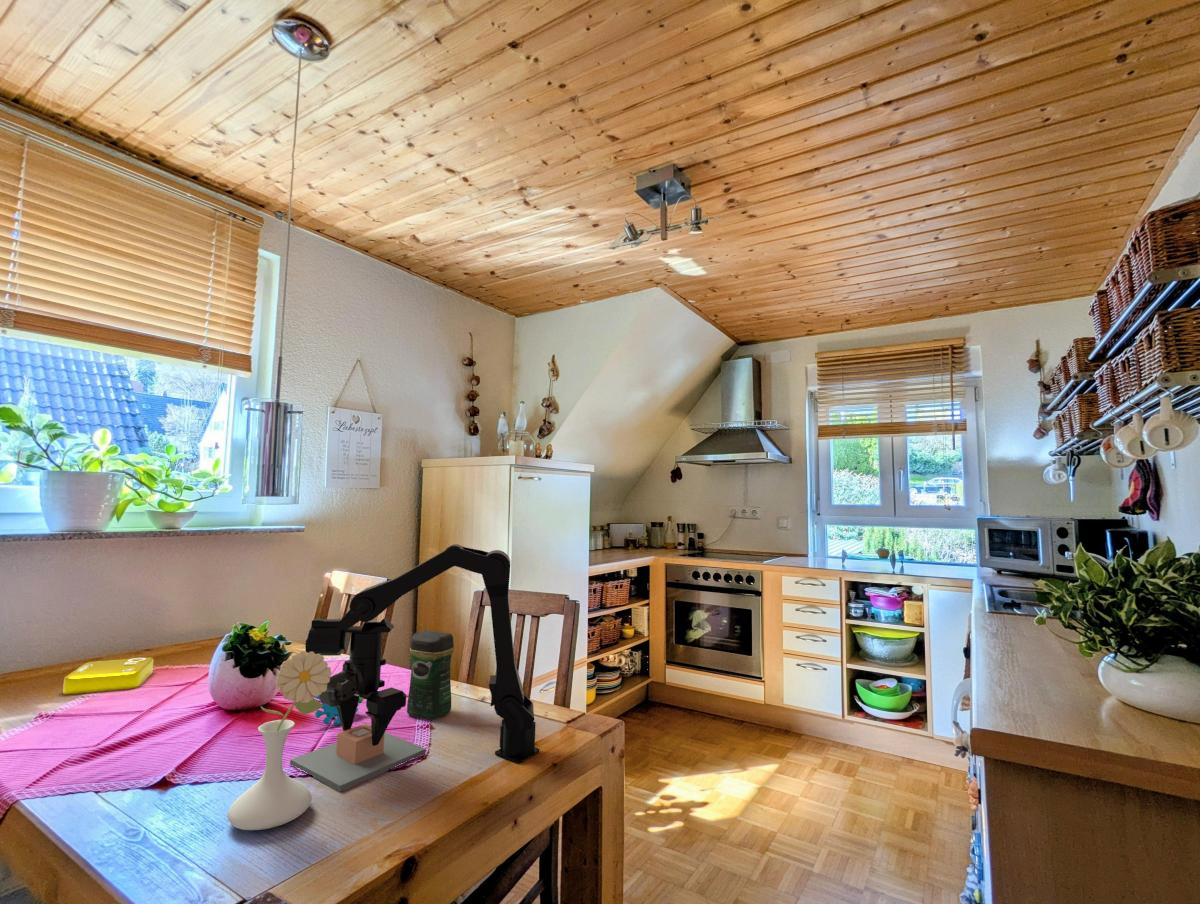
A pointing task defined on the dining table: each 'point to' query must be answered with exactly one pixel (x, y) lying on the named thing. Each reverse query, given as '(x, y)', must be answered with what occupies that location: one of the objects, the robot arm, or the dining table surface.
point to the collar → (357, 745)
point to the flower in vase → (275, 790)
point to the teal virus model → (331, 712)
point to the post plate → (347, 774)
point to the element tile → (108, 675)
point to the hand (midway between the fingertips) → (360, 738)
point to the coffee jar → (430, 675)
